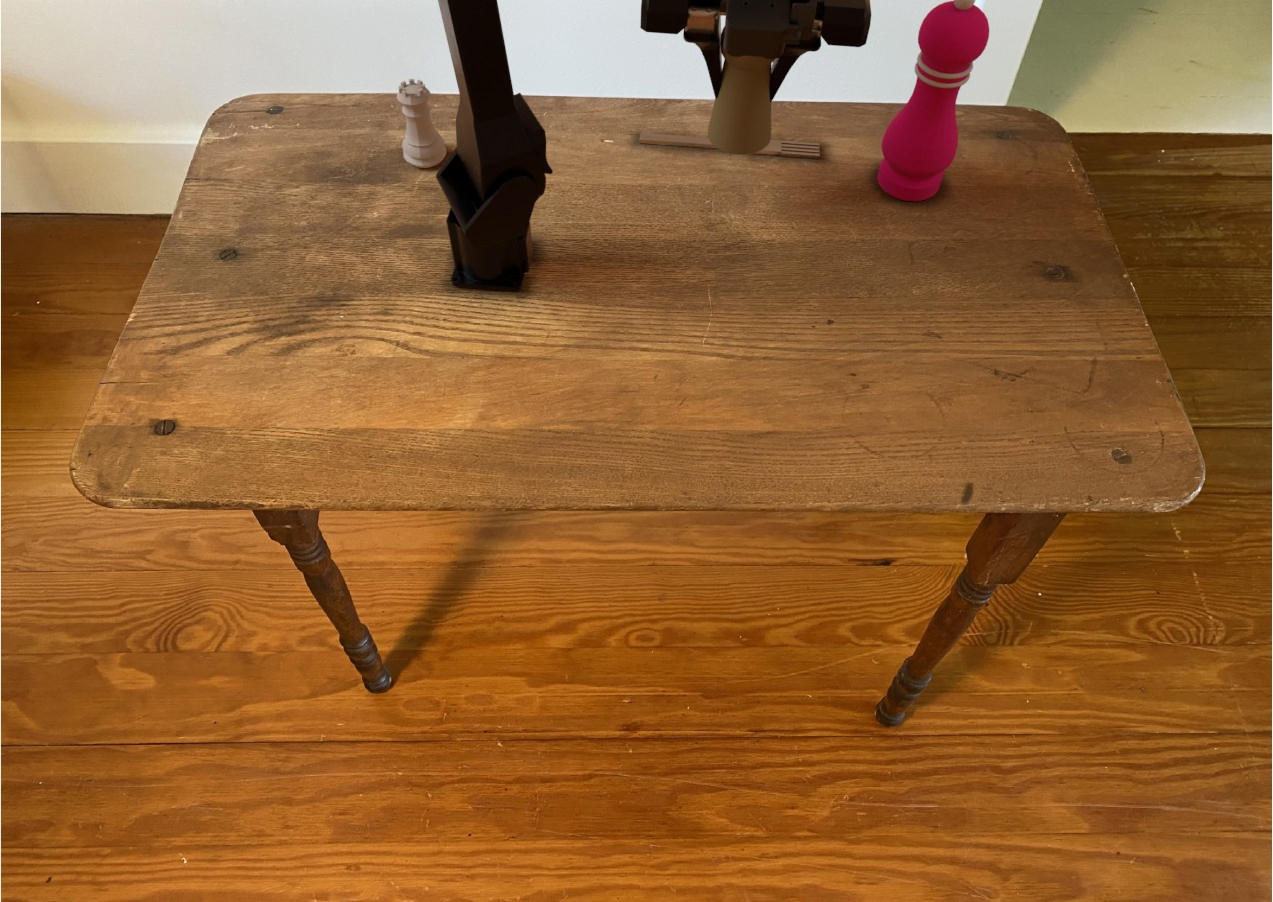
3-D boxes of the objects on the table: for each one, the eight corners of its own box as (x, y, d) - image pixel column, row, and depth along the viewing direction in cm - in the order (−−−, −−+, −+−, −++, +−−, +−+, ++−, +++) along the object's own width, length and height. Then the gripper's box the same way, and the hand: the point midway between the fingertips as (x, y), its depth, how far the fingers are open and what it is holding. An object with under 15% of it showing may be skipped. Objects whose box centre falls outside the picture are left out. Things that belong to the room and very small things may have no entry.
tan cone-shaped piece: (767, 158, 84) (784, 45, 75) (702, 149, 85) (711, 36, 76) (775, 120, 88) (792, 8, 79) (712, 112, 89) (722, -1, 80)
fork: (639, 146, 97) (639, 142, 97) (641, 133, 98) (641, 129, 98) (819, 159, 96) (820, 155, 96) (818, 146, 98) (819, 142, 97)
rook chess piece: (444, 170, 94) (431, 100, 87) (400, 169, 94) (384, 99, 87) (450, 144, 96) (438, 73, 90) (407, 143, 96) (392, 72, 90)
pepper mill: (953, 176, 95) (1022, -17, 79) (927, 214, 91) (994, 20, 75) (889, 152, 97) (943, -41, 81) (861, 188, 94) (911, -6, 77)
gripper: (636, -41, 66) (632, 144, 79) (895, -24, 66) (850, 161, 78) (649, -109, 73) (644, 72, 86) (885, -94, 72) (844, 87, 85)
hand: (743, 98), depth 83 cm, fingers closed on tan cone-shaped piece, 4 cm apart
